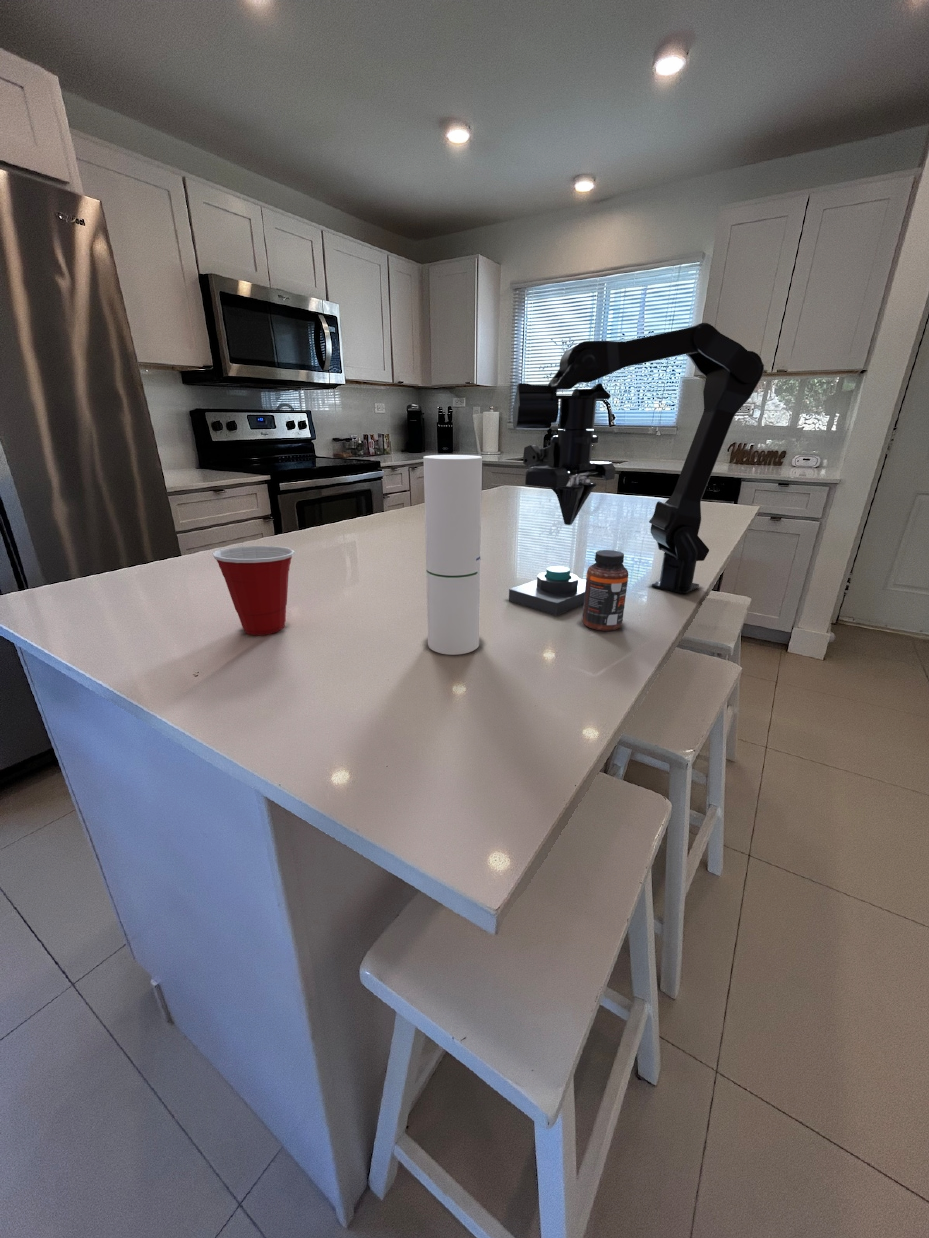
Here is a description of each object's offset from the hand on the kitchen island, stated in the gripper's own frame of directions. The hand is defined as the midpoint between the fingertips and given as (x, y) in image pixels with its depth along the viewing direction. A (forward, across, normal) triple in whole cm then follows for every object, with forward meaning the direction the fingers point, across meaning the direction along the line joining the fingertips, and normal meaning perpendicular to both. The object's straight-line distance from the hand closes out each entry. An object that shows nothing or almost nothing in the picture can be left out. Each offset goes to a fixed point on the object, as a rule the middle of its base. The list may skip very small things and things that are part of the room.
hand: (568, 524), depth 89 cm
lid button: (+8, +5, +2) cm, 10 cm away
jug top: (+12, +5, +2) cm, 13 cm away
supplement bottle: (+12, +10, +14) cm, 21 cm away
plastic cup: (+12, +47, -21) cm, 53 cm away
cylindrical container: (+12, +31, +3) cm, 33 cm away
